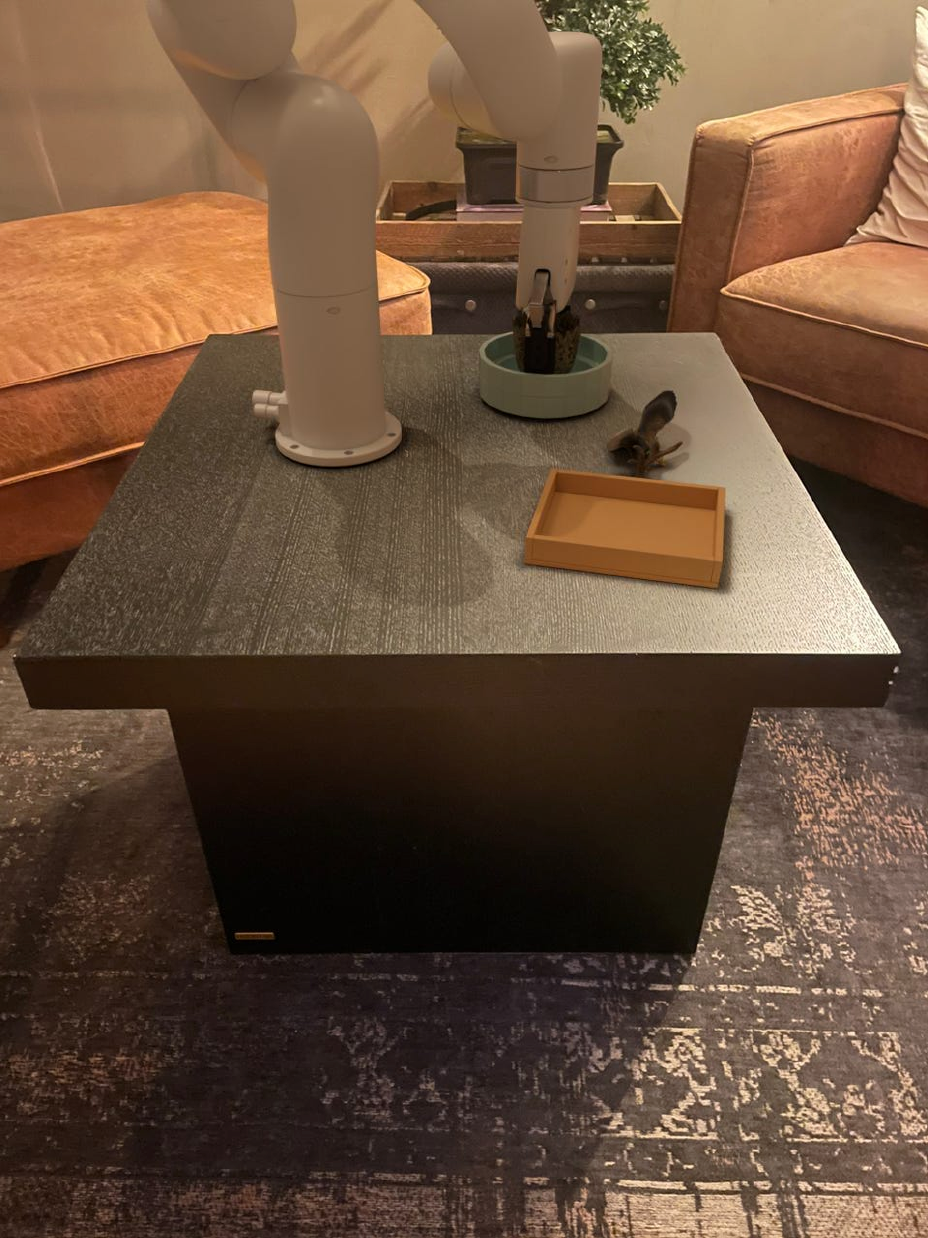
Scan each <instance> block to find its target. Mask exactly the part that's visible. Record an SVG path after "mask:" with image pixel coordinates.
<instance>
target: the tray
mask: <svg viewBox="0 0 928 1238" xmlns="http://www.w3.org/2000/svg"><path fill="white" fill-rule="evenodd" d="M635 477H636V476H635ZM635 477H634V476H625V475H616V474H606V473H597V472H589V471H579V470H570V469H560V468H552V467H551V468H550V471H549V473H548V476H547V478H546V480H545V484H544V487H543V489H542V492H541V495H540V498H539V500H538V503H537V505H536V508H535V511H534V513H533V516H532V520H531V522H530V524H529V527H528V529H527V531H526V532H527V533H526V535H525V544H524V564H527V565H535V566H542V567H549V568H556V569H565V570H573V571H580V572H588V573H596V574H601V575H603V574H604V575H611V576H618V577H625V578H626V577H627V578H633V579H641V580H648V581H649V580H650V581H657V582H665V583H670V584H671V583H672V584H680V585H688V586H693V587H695V586H696V587H702V588H711V589H718V588H719V583H720V579H721V574H722V569H723V563H724V545H725V544H724V543H725V542H724V541H725V539H724V538H725V517H726V515H725V513H726V490H727V489H726V487H725V486H717V485H708V484H698V483H691V482H690V483H689V482H679V481H671V480H670V481H669V480H661V479H651V478H643V477H641V478H635Z"/></svg>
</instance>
